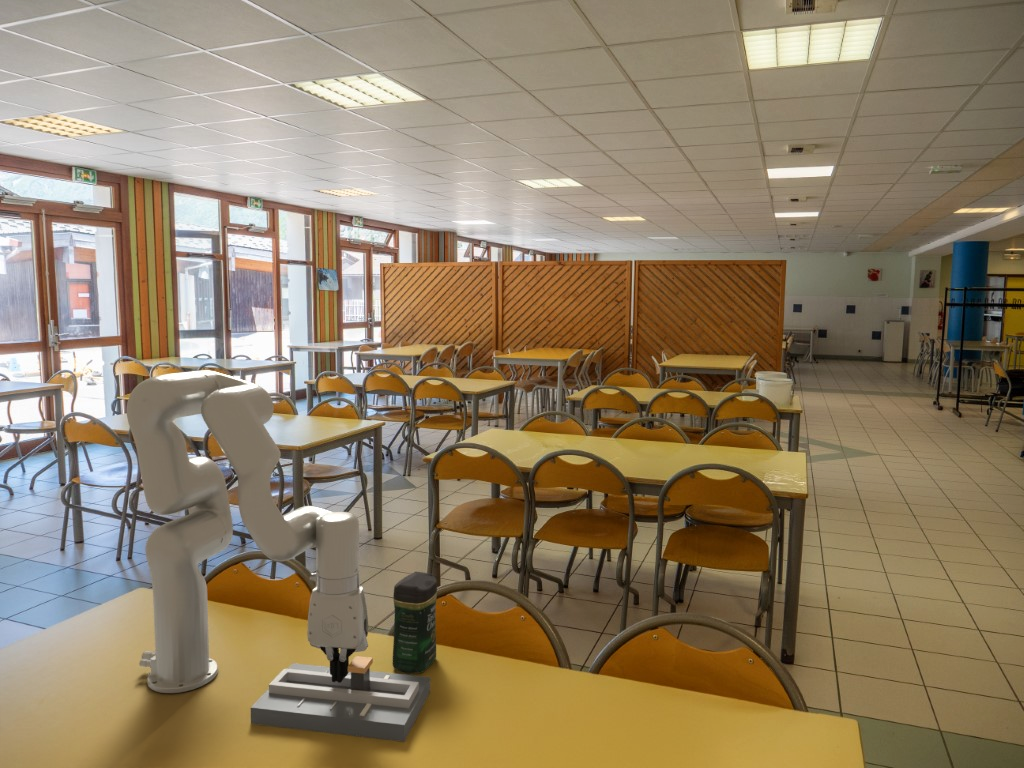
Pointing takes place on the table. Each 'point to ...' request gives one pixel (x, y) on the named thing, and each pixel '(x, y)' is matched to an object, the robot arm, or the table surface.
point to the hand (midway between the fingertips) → (339, 678)
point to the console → (342, 703)
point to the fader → (360, 673)
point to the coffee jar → (415, 623)
